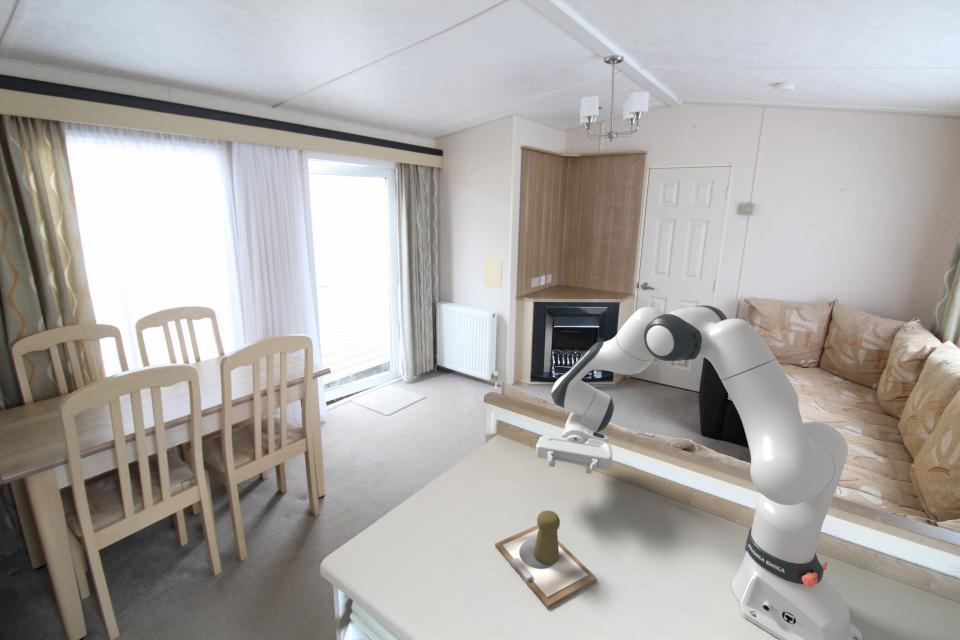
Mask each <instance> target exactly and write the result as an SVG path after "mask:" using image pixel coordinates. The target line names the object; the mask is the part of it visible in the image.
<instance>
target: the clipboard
mask: <svg viewBox="0 0 960 640" xmlns="http://www.w3.org/2000/svg"><path fill="white" fill-rule="evenodd" d="M538 529H539V527H538V524H536V525H534V526H532V527H530V528H527V529H525V530H523V531H520V532H518V533H516V534H514V535H512V536H509V537H507V538H505V539H502V540H501V541H498V542H495V543H494V547H495V548H496V549H497V550H498V552H500V554H501V555H502V556H503V558H504V559H505V560H506V561H507V563H508V564H509V565H510V567H512V568H513V570H514V571H515V573H517V574H518V576H519V577H520V578H521V579H522V581H524V583H525V584H526V585H527V586H528V588H529V589H530V590H531V591H532V593H533V594H534V595H535V596H536V597H537V598H538V600H539V601H540V602H541V603H542V605H543V606H544V607H545V609H549V608H551V607H553V606H555V605H557V604H558V603H560V602H562V601H563V600H566V599H567V598H569V597H571V596H573V595H574V594H576V593H577V592H579V591H581V590H583V589H584V588H587V587H588V586H590V585H592V584H593V583H595V582H597V580H598V579H597V577H596V576H595V575H594V574H593V573H592V572H591V571H590V570H589V568H587V567H586V566H585V565H584V564H583V563H582V562H581V561H580V560H579V559H578V558H577V557H576V556H574V554H572V552H571V551H570V550H568V549H567V547H565V546H564V545H563V544H562V543H561V542H560V541H559V540H558V548H559V559H558V561H557V562H556V563H554V564H551V565H545V564H542V563H540V562H538V561H537V560H536V559H535V557H534V554H533V552H534V548H535V543H536V538H537V534H538Z"/></svg>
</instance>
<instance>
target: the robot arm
mask: <svg viewBox="0 0 960 640" xmlns="http://www.w3.org/2000/svg"><path fill="white" fill-rule="evenodd" d="M698 356H699V357H703V358H705V359H707V360H708V362H710V363H711V365H712V366H713V368H714V370H715V372H716V373H717V375H718V377H719V379H720V380H721V383H722V385H723V386H724V388H725V390H726V392H727V393H728V396H729V397H730V399H731V401H732V404H733V405H734V407H735V409H736V410H737V413H738V414H739V418H740V420H741V422H742V426H743V429H744V433H745V437H746V441H747V445H748V449H749V452H750V469H749V471H750V472H749V473H750V478H751V480H752V483H753V485H754V487H755V488H756V490H757V491H758V492H759V493H760V494H759V496H758V498H757V501H756V506H755V511H754V515H753V520H752V527H750V528H749V530H748V533H747V535H746V539H745V547H744V551H745V554H744V555H743V559H742V560H741V561H742V562H741V564H740V566H739V568H738V570H737V571H736V573H735V574H734V575H733V577H732V578H731V589H732V591H733V594H734V596H735V597H736V599H737V602H738V603H739V612H740V614H741V615H742V616H743V618H744V619H746V620H748V621H749V622H751V623H753V624H754V625H756V626H758V627H759V628H761V629H762V630H764V631H766V632H767V633H769V634H770V635H772V636H774V637H775V638H776V639H778V640H863V636H862V633H861V630H860V629H859V628H858V627H856V626H855V625H854V624H853V623H852V622H851V612H850V608H849V606H848V604H847V603H846V601H845V600H844V599H843V598H842V597H841V595H839V593H838V592H837V591H836V590H835V589H834V587H833V586H832V584H830V583H829V582H828V580H827V578H826V577H825V576H824V571H825V570H826V569H827V567H828V564H829V563H828V561H826V562H824V563H823V564H821V563H820V560H819V558H818V555H817V552H816V551H817V547H818V543H819V540H820V537H821V536H820V535H821V532H822V528H823V524H824V521H825V519H826V517H827V514H828V511H829V509H830V507H831V504H832V501H833V498H834V496H835V495H836V494H835V493H836V490H837V488H838V485H839V483H840V479H841V477H842V474H843V471H844V467H845V466H846V465H845V464H846V461H847V459H848V451H849V447H848V443H847V441H846V439H845V437H844V435H842V433H841V432H840V431H838V430H837V429H836V428H834V426H831V425H829V424H828V423H824V422H819V421H808V422H804V421H803V418H802V416H801V412H800V406H799V396H798V393H797V391H796V389H795V388H794V386H793V384H792V382H791V380H789V377H788V376H787V373H786V372H785V371H784V369H783V368H782V366H781V364H780V362H779V361H778V359H777V357H776V356H775V354H774V353H773V351H772V350H771V348H770V347H769V345H768V344H767V342H766V341H765V339H763V337H762V336H761V335H760V334H759V333H758V331H757V330H756V329H755V328H754V327H753V326H752V325H751V324H750V323H749V322H748V321H747V320H744V319H742V318H727V316H726V315H725V313H724V312H723V311H722V310H720V309H719V308H718V307H715V306H711V305H706V304H705V305H704V304H702V305H694V306H691V307H690V306H689V307H682V308H679V309H674V310H671V311H669V312H667V313H664V312H663V311H662V310H661V309H659V308H656V307H653V306H644V307H641V308H637V310H636V311H635V312H633V314H631V316H630V317H628V318H627V320H626V321H625V322H624V324H622V326H621V327H620V328H619V330H618V332H617V333H616V335H615V336H613V337H612V338H611V339H608V340H606V341H598V342H595V343H594V344H593V345H592V346H591V347H590V348H589V349H587V350H586V351H585V352H584V354H582V355H581V357H579V359H577V361H575V363H574V364H573V365H572V366H571V367H570V368H569V369H568V370H567V371H566V372H565V373H563V374H562V375H561V376H560V377H559V378H558V379H557V380H556V381H555V382H554V384H553V386H552V388H551V391H550V395H551V398H552V400H553V403H554V405H556V406H557V407H560V408H562V409H565V410H567V411H569V412H570V414H569V416H568V418H567V420H566V422H565V425H564V428H563V431H562V434H561V436H558V435H557V436H556V435H550V434H546V435H543V436H540V437H539V438H538V441H537V443H536V445H535V455H536V457H537V458H539V459H545V460H547V463H548V467H551V468H552V467H553V468H555V467H556V461H557V462H562V463H567V464H573V465H578V466H584V467H585V473H586V474H590V475H592V473H593V472H594V471H595V470H597V469H600V470H606V471H607V470H610V469H612V467H613V466H612V465H613V450H612V446H611V444H610V441H609V436H608V435H605V434H602V433H600V432H603V430H605V429H606V428H607V427H608V425H609V423H610V421H611V419H612V417H613V414H614V409H615V404H614V403H615V402H614V399H613V398H612V396H611V395H609V394H607V393H606V392H603V391H602V390H600V389H598V388H595V387H594V386H592V385H590V384H588V383H587V382H585V381H583V380H582V379H583V378H584V377H585V376H586V375H587V374H588V373H589V372H591V371H596V370H599V371H600V370H601V371H606V372H612V373H615V374H620V375H625V376H626V375H627V376H628V375H636V374H637V375H638V374H639V373H641V372H643V371H644V370H645V369H647V368H648V367H649V366H650V365H651V363H652V362H653V361H654V360H655V359H656V360H660V361H663V362H681V361H692V360H696V358H697V357H698Z"/></svg>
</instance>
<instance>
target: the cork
mask: <svg viewBox="0 0 960 640" xmlns="http://www.w3.org/2000/svg"><path fill="white" fill-rule="evenodd" d="M536 523H537V524H536V525H538V527H539V529H538V534H537V538H536V543H535V548H534V552H533V554H534V557H535V559H536V560H537V561H538V562H540V563H542V564H545V565H551V564H554V563H556V562H557V561H558V559H559V548H558V541H559V538H558V536H559V535H558V529H559V528H560V524H561V520H560V517H559V516H558V513H556V512H555V511H552V510H548V509H547V510H542V511H540V513H539V514H538V515H537V517H536Z"/></svg>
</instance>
